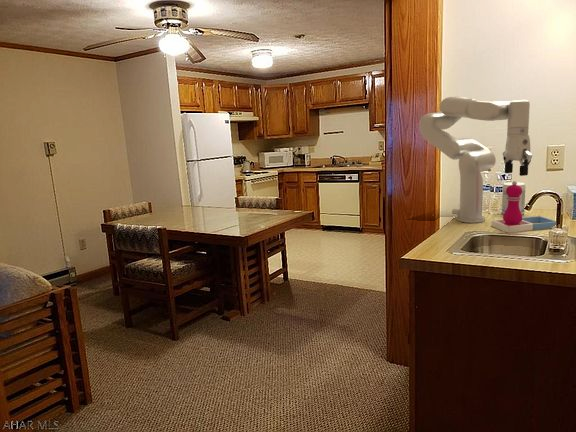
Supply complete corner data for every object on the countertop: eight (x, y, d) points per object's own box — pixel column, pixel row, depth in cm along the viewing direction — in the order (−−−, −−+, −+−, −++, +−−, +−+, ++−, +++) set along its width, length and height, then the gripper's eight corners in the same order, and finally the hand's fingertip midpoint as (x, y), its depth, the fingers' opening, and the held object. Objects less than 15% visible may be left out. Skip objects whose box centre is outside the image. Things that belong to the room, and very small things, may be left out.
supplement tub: (514, 210, 208) (515, 181, 205) (529, 214, 199) (530, 183, 196) (497, 213, 206) (498, 183, 203) (511, 216, 197) (512, 185, 194)
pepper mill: (524, 230, 175) (527, 182, 170) (505, 230, 176) (507, 182, 172) (518, 225, 181) (521, 179, 177) (500, 225, 183) (502, 180, 179)
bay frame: (507, 232, 173) (507, 226, 172) (491, 225, 184) (491, 220, 183) (558, 227, 175) (559, 221, 174) (539, 221, 186) (539, 216, 185)
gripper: (541, 131, 162) (538, 175, 165) (513, 131, 179) (511, 171, 182) (522, 132, 161) (520, 177, 165) (496, 132, 178) (494, 172, 182)
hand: (515, 174), depth 173 cm, fingers open, 9 cm apart
